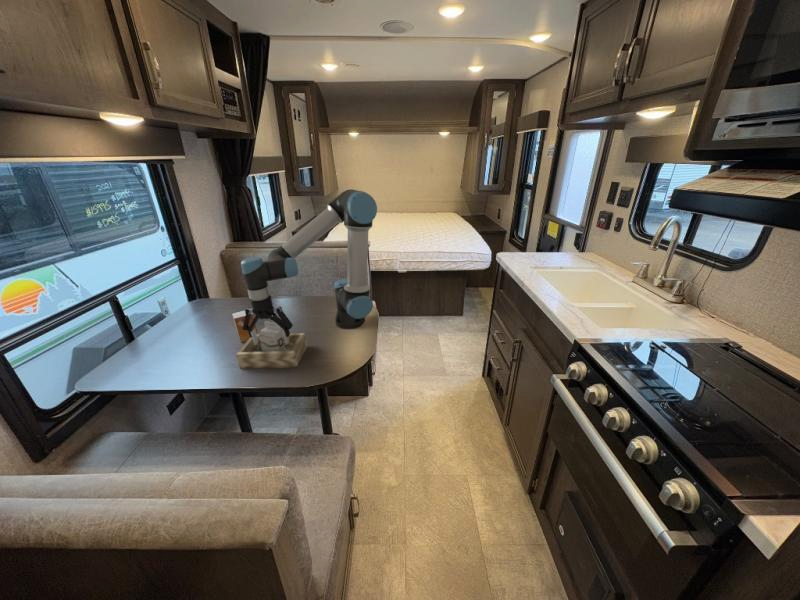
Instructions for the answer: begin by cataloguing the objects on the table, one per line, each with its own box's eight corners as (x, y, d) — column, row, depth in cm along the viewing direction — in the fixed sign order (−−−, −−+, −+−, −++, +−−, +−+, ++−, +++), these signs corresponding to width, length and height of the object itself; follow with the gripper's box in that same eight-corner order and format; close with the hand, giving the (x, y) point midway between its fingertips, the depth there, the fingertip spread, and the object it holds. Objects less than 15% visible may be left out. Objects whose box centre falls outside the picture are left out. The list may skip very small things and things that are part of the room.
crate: (307, 346, 138) (304, 333, 135) (296, 367, 124) (293, 353, 121) (256, 347, 138) (252, 334, 135) (240, 368, 125) (235, 354, 122)
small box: (241, 343, 142) (233, 318, 137) (238, 337, 147) (231, 313, 141) (259, 337, 146) (252, 313, 141) (256, 332, 151) (250, 308, 145)
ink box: (263, 356, 130) (255, 326, 124) (270, 349, 134) (263, 320, 128) (279, 359, 128) (272, 329, 121) (287, 352, 132) (280, 323, 125)
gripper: (294, 292, 122) (303, 337, 131) (233, 293, 123) (247, 338, 132) (288, 300, 116) (298, 347, 125) (224, 301, 116) (238, 348, 125)
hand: (271, 343), depth 128 cm, fingers open, 12 cm apart
